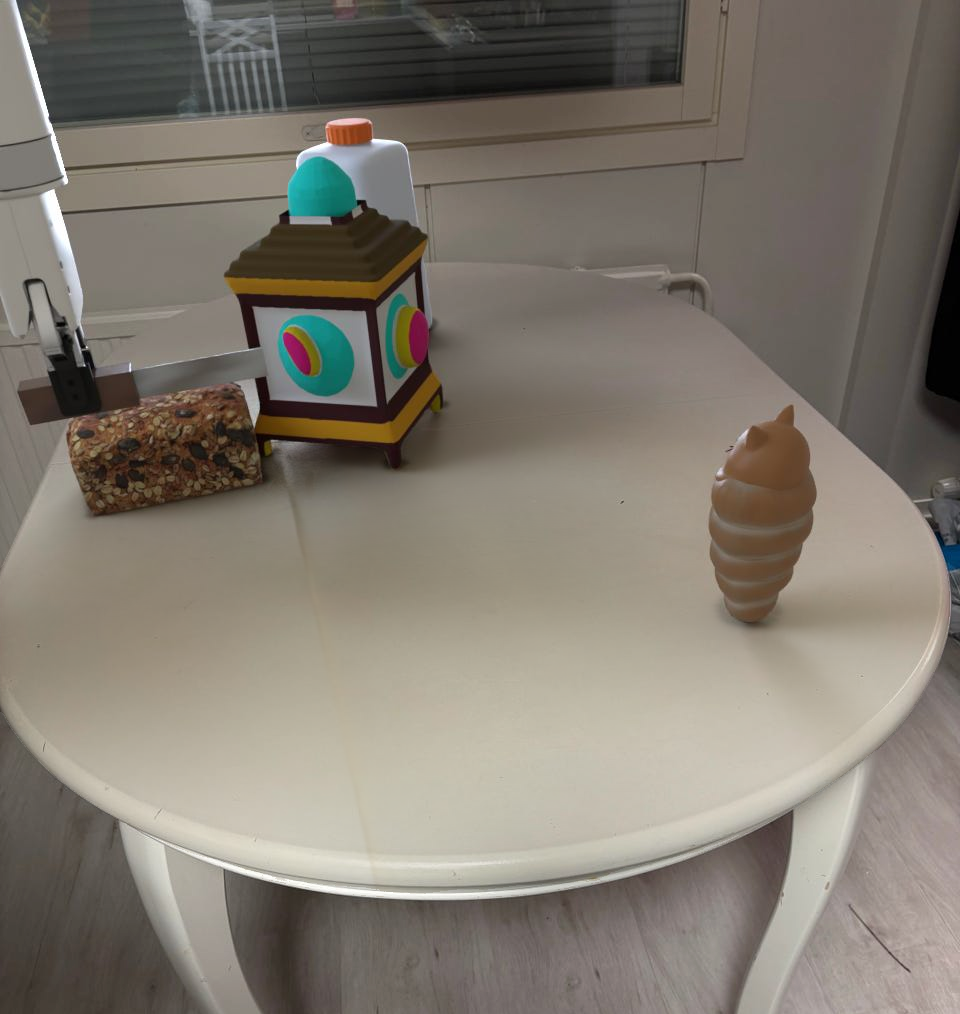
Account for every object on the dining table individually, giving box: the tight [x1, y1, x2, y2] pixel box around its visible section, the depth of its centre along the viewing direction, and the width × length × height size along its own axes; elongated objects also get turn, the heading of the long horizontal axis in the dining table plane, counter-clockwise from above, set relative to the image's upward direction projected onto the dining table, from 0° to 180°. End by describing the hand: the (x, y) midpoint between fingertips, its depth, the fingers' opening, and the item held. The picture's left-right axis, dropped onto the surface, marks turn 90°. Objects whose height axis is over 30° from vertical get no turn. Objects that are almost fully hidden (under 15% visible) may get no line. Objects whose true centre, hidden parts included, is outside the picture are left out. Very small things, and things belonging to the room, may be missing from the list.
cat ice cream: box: [708, 404, 818, 623], centre depth 75 cm, size 9×8×18 cm
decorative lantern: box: [223, 156, 444, 471], centre depth 105 cm, size 20×20×30 cm
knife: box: [16, 347, 268, 426], centre depth 81 cm, size 20×2×3 cm, turn 106°
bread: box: [65, 382, 264, 517], centre depth 102 cm, size 19×11×10 cm, turn 108°
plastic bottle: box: [295, 117, 433, 329], centre depth 132 cm, size 15×15×28 cm
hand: (83, 404), depth 81 cm, fingers closed on knife, 2 cm apart
